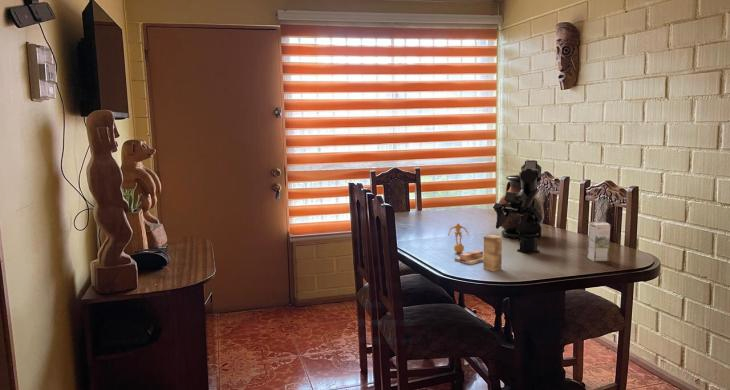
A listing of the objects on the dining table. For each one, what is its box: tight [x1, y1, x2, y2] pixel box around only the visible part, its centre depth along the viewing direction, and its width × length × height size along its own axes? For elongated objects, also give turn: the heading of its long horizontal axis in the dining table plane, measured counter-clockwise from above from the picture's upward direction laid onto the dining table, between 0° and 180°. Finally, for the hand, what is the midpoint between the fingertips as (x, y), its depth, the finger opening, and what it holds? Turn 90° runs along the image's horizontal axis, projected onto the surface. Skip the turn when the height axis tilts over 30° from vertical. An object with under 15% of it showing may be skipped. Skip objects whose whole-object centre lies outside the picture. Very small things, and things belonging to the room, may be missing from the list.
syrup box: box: [587, 221, 611, 263], centre depth 205 cm, size 6×6×14 cm
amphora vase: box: [495, 174, 545, 240], centre depth 250 cm, size 22×22×28 cm
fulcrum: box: [454, 249, 484, 265], centre depth 209 cm, size 12×8×3 cm, turn 128°
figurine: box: [448, 223, 469, 254], centre depth 221 cm, size 8×6×12 cm
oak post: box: [483, 234, 503, 272], centre depth 195 cm, size 4×4×12 cm
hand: (506, 230), depth 199 cm, fingers open, 9 cm apart
